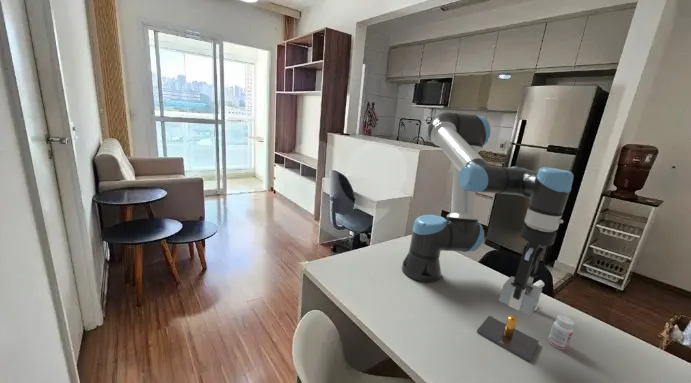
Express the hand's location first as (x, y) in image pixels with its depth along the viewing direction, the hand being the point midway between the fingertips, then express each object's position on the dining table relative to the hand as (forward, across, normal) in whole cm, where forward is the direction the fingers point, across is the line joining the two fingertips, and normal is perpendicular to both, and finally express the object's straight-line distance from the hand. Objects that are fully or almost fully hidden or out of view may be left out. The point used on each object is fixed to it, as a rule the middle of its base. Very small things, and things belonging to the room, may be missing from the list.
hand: (518, 301), depth 83 cm
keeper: (+13, 0, 0) cm, 13 cm away
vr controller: (+13, +25, +1) cm, 28 cm away
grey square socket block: (0, 0, 0) cm, 0 cm away
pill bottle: (+13, +10, -11) cm, 20 cm away
